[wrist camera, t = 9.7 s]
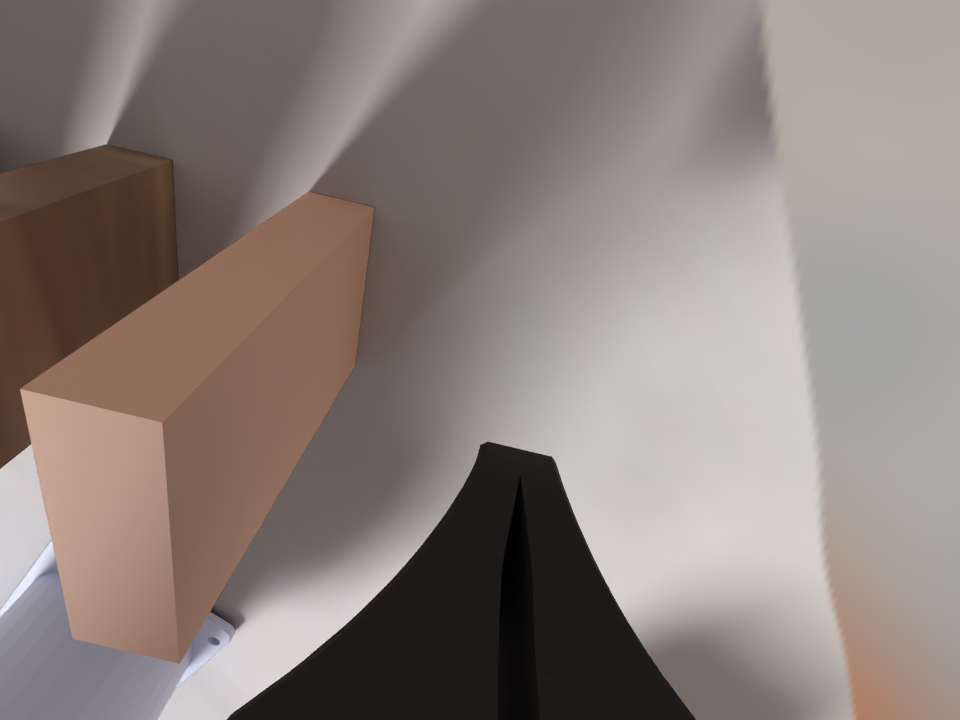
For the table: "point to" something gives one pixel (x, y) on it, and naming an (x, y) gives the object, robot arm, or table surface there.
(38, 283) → the walnut tile
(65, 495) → the terracotta tile
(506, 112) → the table surface
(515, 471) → the robot arm
